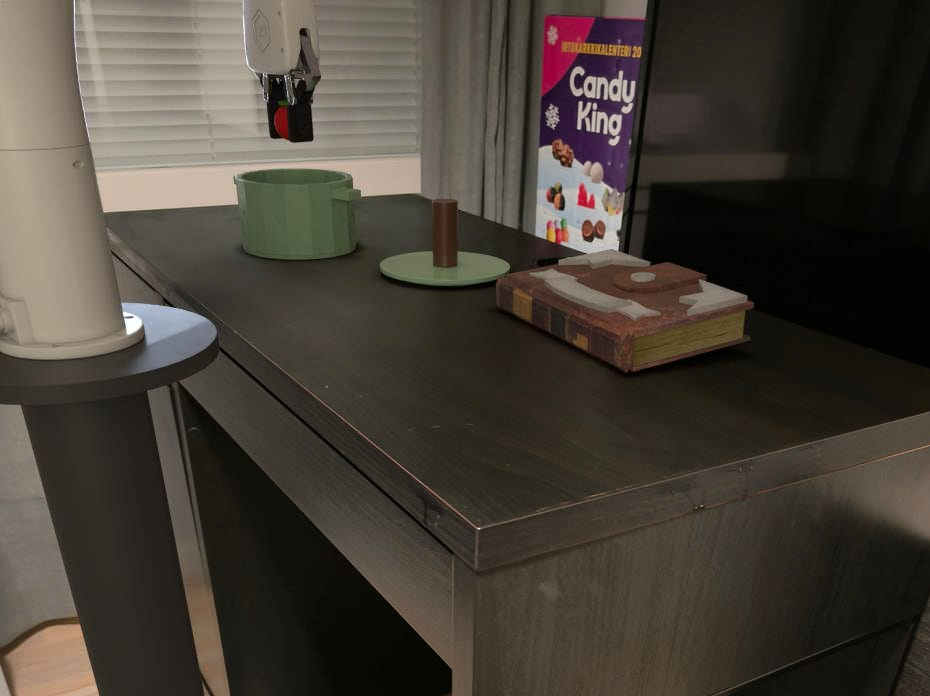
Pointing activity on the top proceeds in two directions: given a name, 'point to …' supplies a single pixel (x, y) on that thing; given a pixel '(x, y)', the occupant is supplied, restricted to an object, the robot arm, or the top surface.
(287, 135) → the tomato
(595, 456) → the top surface
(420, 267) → the lid
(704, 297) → the book
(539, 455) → the top surface
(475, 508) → the top surface
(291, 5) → the robot arm
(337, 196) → the pot
